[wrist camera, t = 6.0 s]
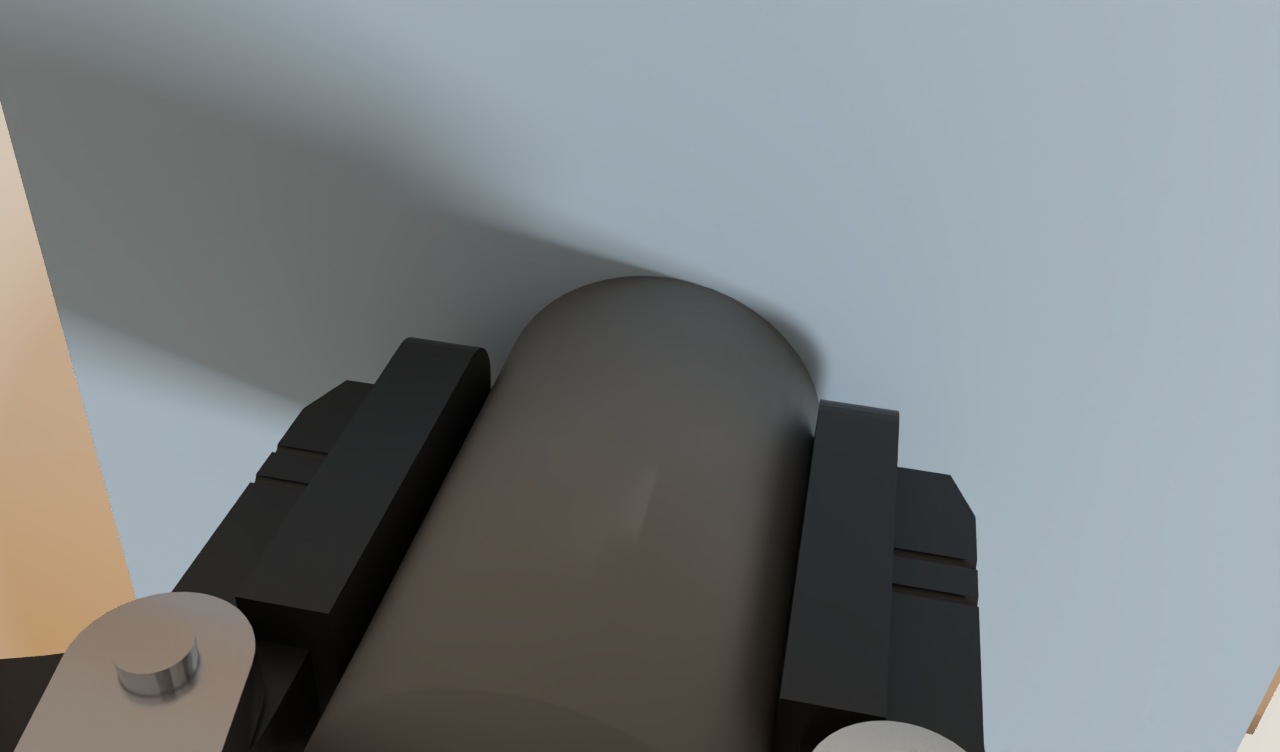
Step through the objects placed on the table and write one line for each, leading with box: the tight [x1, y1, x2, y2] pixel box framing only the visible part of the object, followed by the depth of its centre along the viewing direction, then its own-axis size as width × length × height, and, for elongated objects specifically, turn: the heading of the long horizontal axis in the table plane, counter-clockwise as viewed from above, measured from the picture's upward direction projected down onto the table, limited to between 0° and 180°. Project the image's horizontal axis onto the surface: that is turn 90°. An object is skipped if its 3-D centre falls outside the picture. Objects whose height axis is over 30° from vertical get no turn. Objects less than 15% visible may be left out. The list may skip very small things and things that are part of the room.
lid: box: [0, 0, 1280, 752], centre depth 11 cm, size 13×13×7 cm
